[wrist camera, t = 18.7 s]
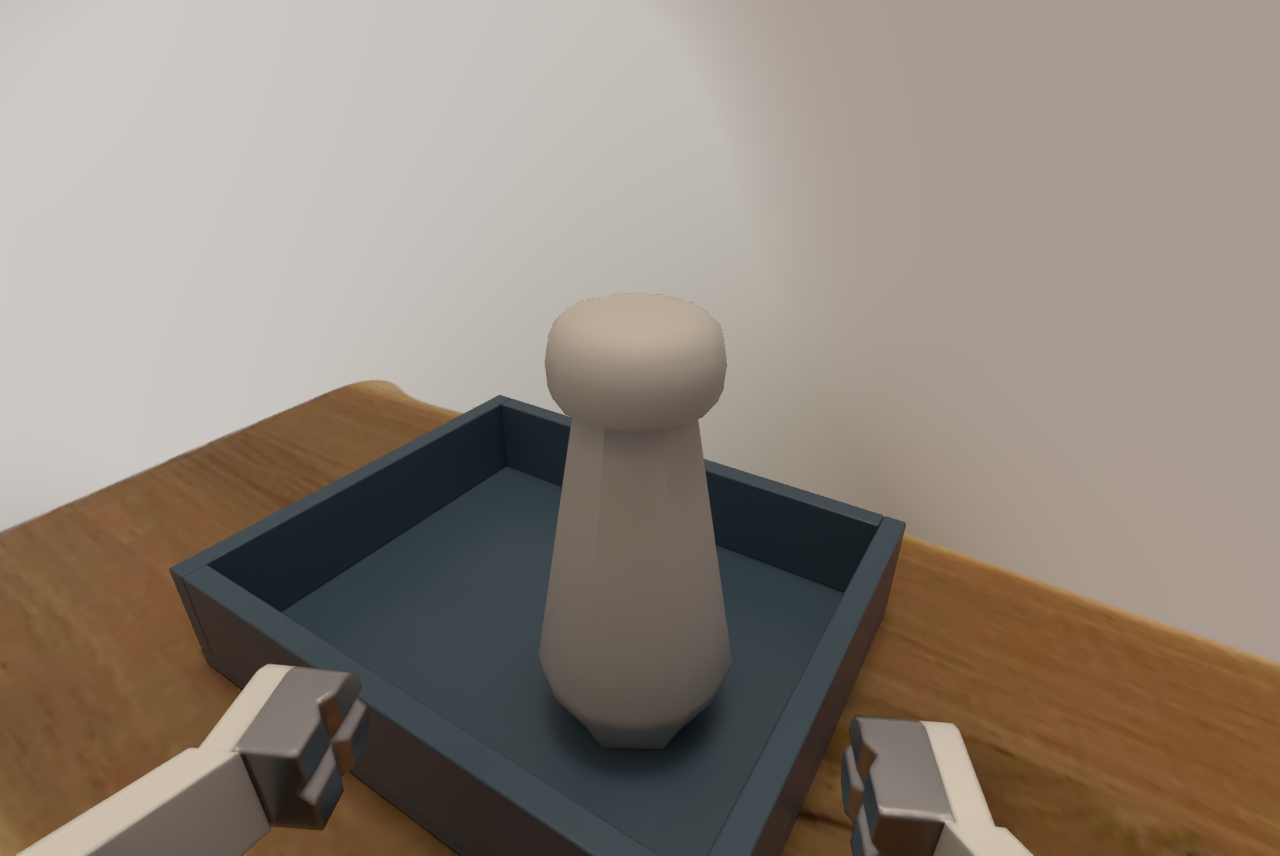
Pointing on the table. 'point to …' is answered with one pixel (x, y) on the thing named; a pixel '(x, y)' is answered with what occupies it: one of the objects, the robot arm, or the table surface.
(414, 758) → the tray
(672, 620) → the salt shaker
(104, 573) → the table surface
